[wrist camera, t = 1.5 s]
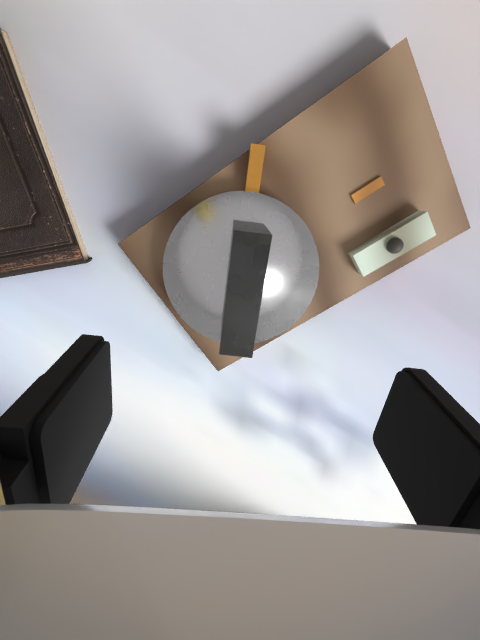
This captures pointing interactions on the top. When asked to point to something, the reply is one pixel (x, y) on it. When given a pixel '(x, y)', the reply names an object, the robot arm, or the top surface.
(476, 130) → the top surface
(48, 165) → the hardcover book
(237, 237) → the cam dial
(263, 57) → the top surface
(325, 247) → the levelling base
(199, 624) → the robot arm
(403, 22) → the top surface
